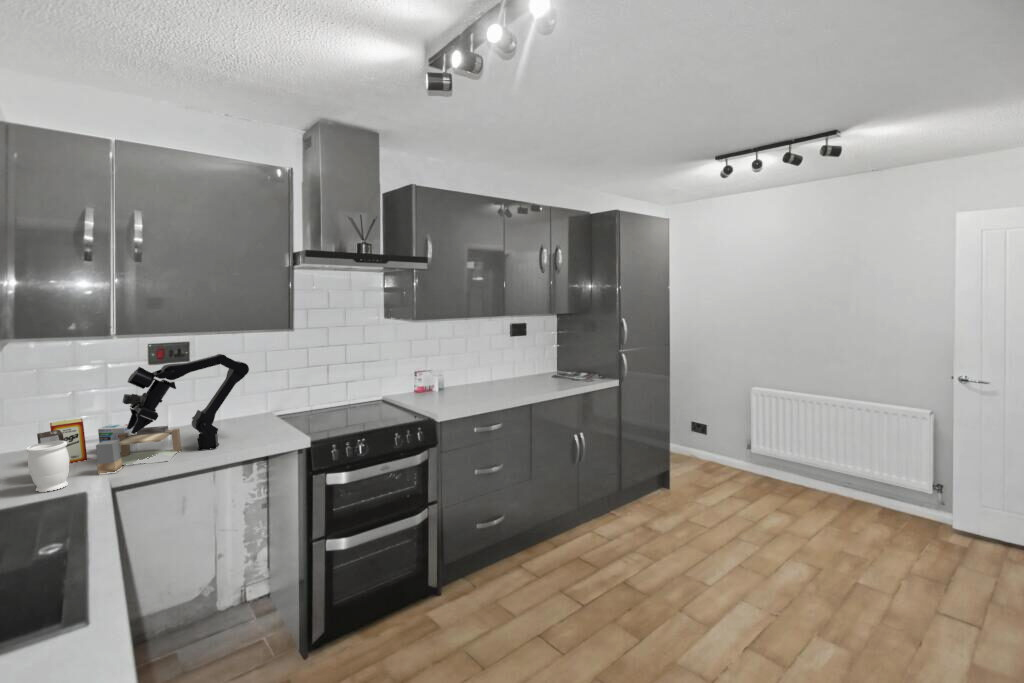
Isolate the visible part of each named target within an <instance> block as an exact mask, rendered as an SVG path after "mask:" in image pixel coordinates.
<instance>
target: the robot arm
mask: <svg viewBox="0 0 1024 683" xmlns="http://www.w3.org/2000/svg"><path fill="white" fill-rule="evenodd" d="M219 365H221V366H223V367H225V368H227V369H228V370H227V373H226V376H225V379H224V381H223V382H222V384H220V386H219V388H218V389H217V391H215V394H214V395H213V397H211V399H210V401H209V402H208V404H207V405H206V407H205V408H204V409H202V410H200V409H197V410H196V413H195V414H194V415H193V416H192V417H191V419H192V420H191V426H192V428H193V429H195V430H196V431H197V432H198V434H197V435H198V436H197V439H196V442H197V448H198V451H203V450H202V449H208V450H211V449H210V448H216V447H217V446H218V445H219V444H221V443H220V442H219V439H218V438H219V437H218V435H219V434H218V432H219V428H218V427H216V426H214V425H213V423H214V421H215V418H216V414H217V412H218V411H219V409H220V408H221V406H222V405H223V403H224V402H225V401H226V399H227V397H228V396H229V395H230V393H231V392H232V390H233V388H234V387H235V386H236V384H237V383H239V382H240V381H242V380H243V379H244V378H245V377H246V375H248V373H249V371H250V368H249V365H248V364H247V363H245V362H242V361H240V360H239V361H238V360H237V361H236V360H235V359H232V358H230V357H228V356H227V355H224V354H222V353H218V354H215V355H211V356H208V357H204V358H200V359H197V360H192V361H189V362H183V363H179V362H178V363H169V364H168V363H167V364H165V365H163V366H162V367H161V368H160V369H158V370H155V371H153V372H150V371H148V370H146V369H145V368H143V367H141V366H137V368H136V369H135V370H134V371H133V373H131V374H130V376H129V377H128V379H127V383H128V384H131V385H133V386H136V387H138V388H140V389H142V390H144V389H146V388H148V389H147V391H146V392H143V393H142V395H141V394H137V393H136V394H135V393H131V394H128V393H127V394H126V393H124V395H123V398H122V404H124V405H129V410H130V413H131V414H130V418H129V421H128V423H127V424H128V426H127V429H131V428H132V427H133V429H132V432H131V433H133V434H135V433H137V432H138V431H139V430H141V429H142V428H146V426H148V425H150V424H151V423H154V421H156V420H158V418H159V413H158V412H157V409H156V408H157V407H158V406H159V404H162V402H163V398H164V397H165V395H166V394H167V392H168V391H169V389H171V388H172V389H174V390H176V389H177V386H176V383H175V380H177V379H180V378H182V377H184V376H186V375H188V374H190V373H192V372H196V371H200V370H204V369H207V368H211V367H214V366H215V367H216V366H219ZM156 378H157V379H156ZM165 379H166V380H165ZM219 446H220V445H219ZM219 446H218V447H219ZM218 447H217V448H218ZM217 448H216V449H217Z"/></svg>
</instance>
